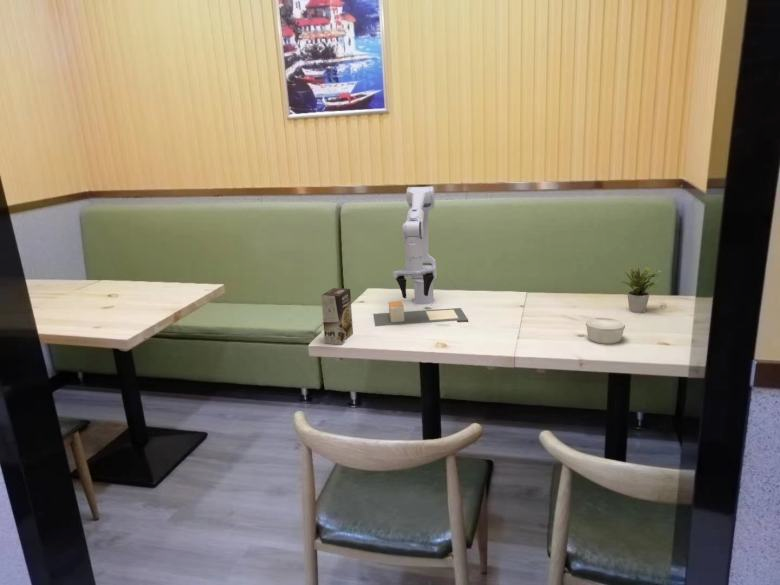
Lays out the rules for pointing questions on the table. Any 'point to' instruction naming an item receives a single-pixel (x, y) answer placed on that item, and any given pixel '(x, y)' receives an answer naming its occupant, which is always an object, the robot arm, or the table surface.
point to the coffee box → (337, 315)
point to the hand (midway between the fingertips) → (415, 296)
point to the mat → (416, 317)
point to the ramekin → (605, 330)
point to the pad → (441, 315)
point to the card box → (396, 311)
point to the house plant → (639, 289)
